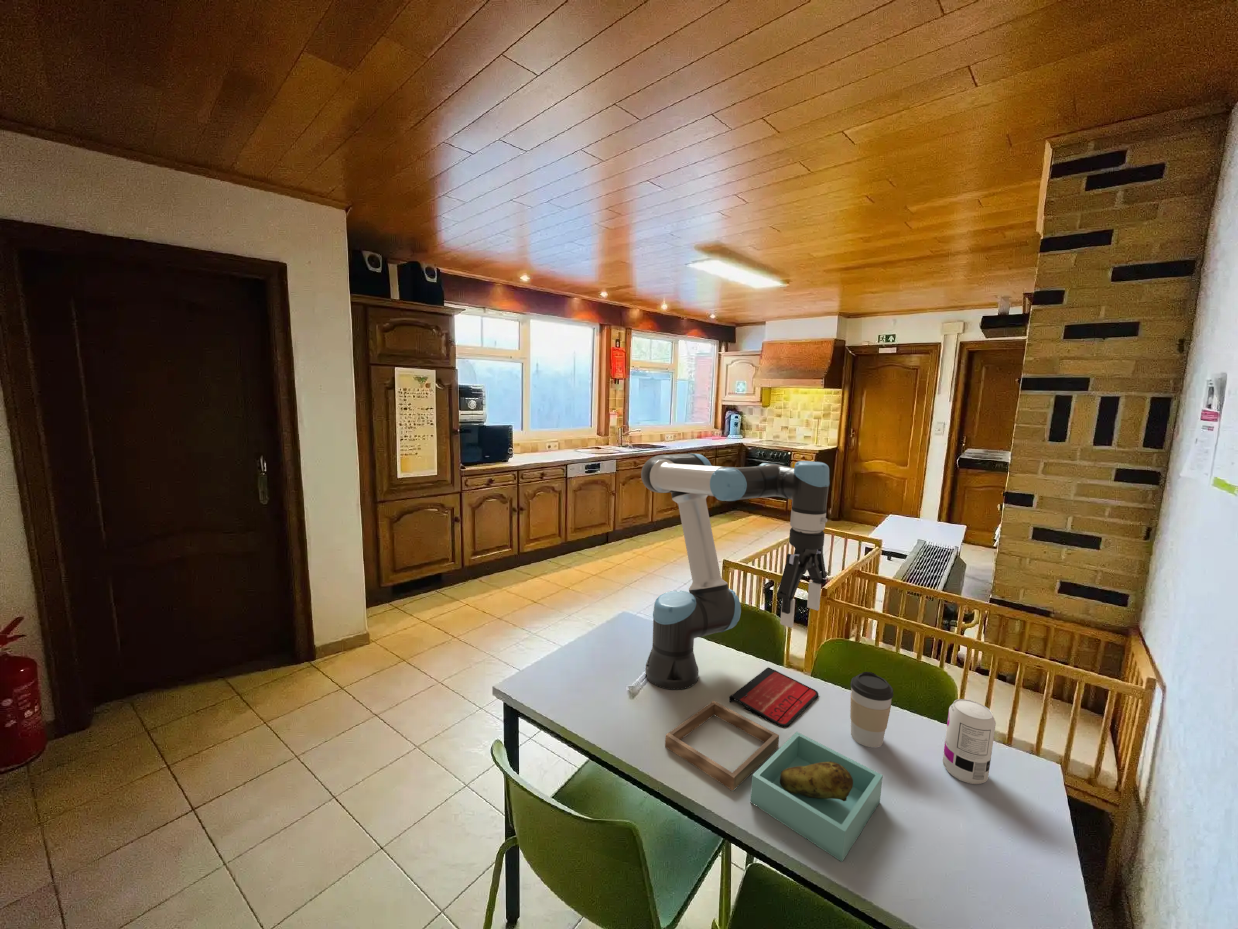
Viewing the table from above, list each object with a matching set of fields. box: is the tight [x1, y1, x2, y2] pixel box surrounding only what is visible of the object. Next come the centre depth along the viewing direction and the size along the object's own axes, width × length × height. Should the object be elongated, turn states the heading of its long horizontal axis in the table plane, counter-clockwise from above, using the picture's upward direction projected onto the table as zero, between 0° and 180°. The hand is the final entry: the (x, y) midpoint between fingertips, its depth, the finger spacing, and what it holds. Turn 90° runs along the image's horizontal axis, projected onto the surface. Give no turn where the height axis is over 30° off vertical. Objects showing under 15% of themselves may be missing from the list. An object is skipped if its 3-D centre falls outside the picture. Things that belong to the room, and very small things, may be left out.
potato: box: [780, 761, 853, 801], centre depth 101 cm, size 8×13×8 cm, turn 51°
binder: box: [729, 666, 819, 728], centre depth 137 cm, size 16×2×21 cm
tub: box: [750, 731, 884, 863], centre depth 102 cm, size 18×19×6 cm
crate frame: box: [664, 700, 780, 791], centre depth 117 cm, size 18×19×3 cm
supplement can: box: [942, 698, 997, 785], centre depth 110 cm, size 8×8×15 cm
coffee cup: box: [849, 671, 894, 748], centre depth 121 cm, size 9×9×15 cm
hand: (800, 616), depth 120 cm, fingers open, 13 cm apart
